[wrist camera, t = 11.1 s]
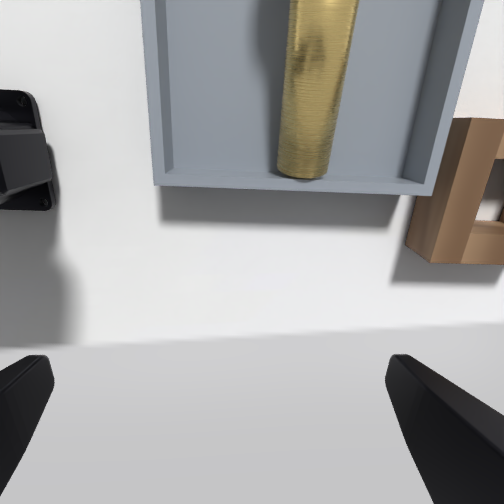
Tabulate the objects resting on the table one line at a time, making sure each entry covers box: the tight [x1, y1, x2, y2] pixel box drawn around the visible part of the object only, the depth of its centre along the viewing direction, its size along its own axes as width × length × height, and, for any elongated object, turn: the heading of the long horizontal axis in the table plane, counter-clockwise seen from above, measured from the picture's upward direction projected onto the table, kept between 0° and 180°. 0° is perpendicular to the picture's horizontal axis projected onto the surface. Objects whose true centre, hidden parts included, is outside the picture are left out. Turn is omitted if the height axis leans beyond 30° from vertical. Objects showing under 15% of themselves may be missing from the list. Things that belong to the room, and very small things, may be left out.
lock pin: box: [277, 0, 360, 178], centre depth 13 cm, size 4×4×12 cm
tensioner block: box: [405, 118, 504, 265], centre depth 19 cm, size 8×8×3 cm
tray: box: [140, 0, 484, 196], centre depth 15 cm, size 15×13×3 cm
